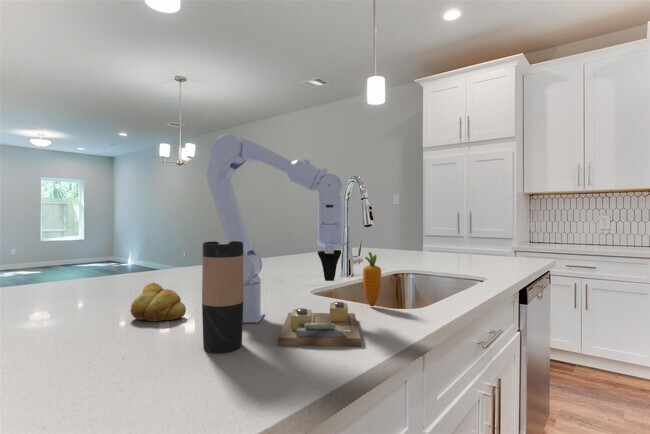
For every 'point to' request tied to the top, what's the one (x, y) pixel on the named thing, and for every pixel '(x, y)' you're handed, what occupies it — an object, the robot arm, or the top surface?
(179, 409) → the top surface
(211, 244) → the travel mug
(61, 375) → the top surface
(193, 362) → the top surface
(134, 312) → the bread roll
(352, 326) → the base
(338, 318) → the slide
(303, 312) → the slide
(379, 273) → the carrot
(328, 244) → the robot arm
